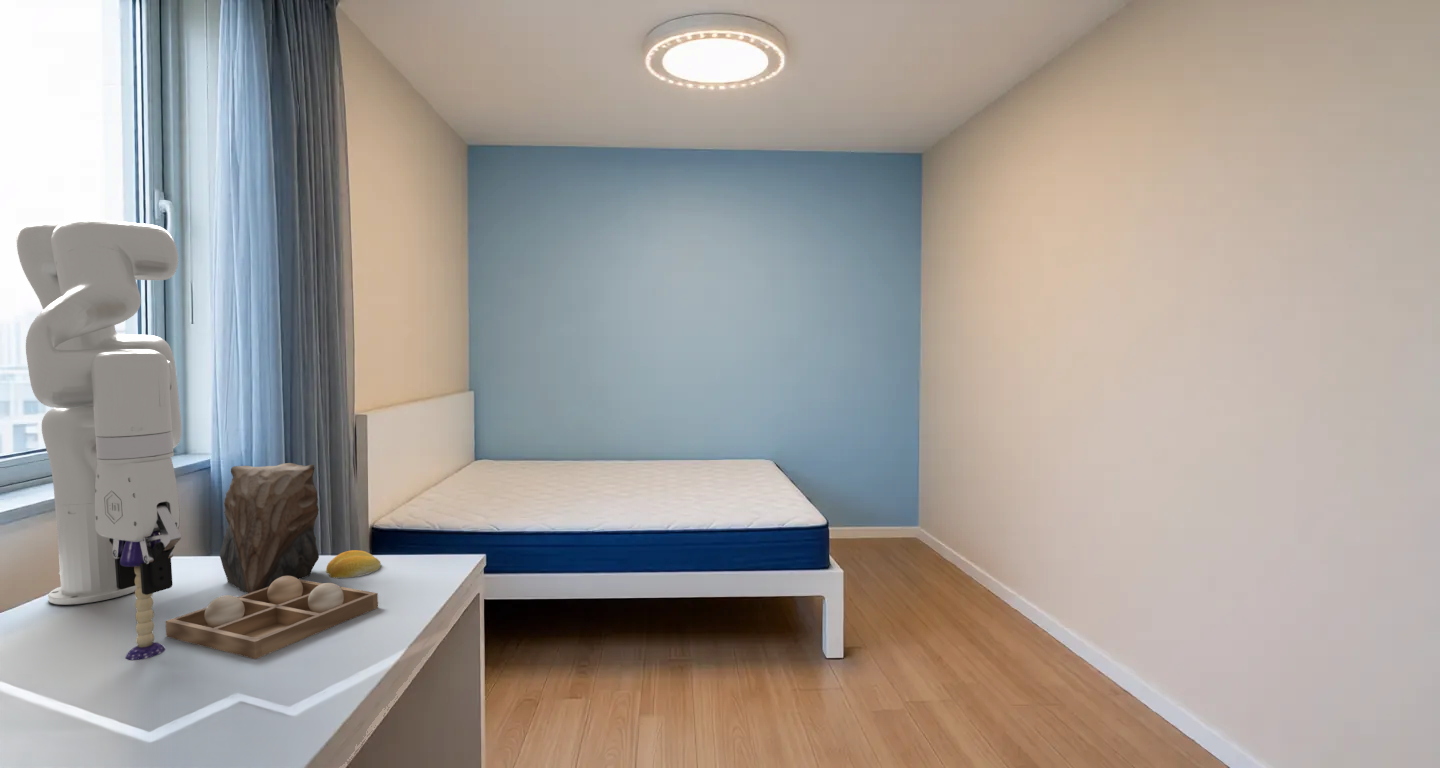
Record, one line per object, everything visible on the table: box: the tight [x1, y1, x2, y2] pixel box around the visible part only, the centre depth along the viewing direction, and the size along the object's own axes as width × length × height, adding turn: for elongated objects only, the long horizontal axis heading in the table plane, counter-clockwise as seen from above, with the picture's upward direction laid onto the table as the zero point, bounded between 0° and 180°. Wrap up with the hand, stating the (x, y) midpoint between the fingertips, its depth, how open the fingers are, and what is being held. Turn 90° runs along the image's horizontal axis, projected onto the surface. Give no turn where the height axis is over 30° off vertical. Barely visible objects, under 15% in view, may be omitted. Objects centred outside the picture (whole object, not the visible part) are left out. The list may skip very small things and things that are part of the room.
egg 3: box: [308, 582, 344, 613], centre depth 103 cm, size 5×5×5 cm
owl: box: [219, 462, 320, 594], centre depth 120 cm, size 13×13×20 cm
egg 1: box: [204, 594, 245, 628], centre depth 98 cm, size 5×5×5 cm
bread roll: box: [325, 549, 382, 579], centre depth 124 cm, size 8×9×4 cm
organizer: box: [165, 579, 379, 660], centre depth 101 cm, size 18×18×3 cm
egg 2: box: [267, 576, 303, 605], centre depth 106 cm, size 5×5×5 cm
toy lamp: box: [120, 531, 166, 661], centre depth 91 cm, size 5×5×17 cm
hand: (144, 586), depth 91 cm, fingers closed on toy lamp, 4 cm apart
